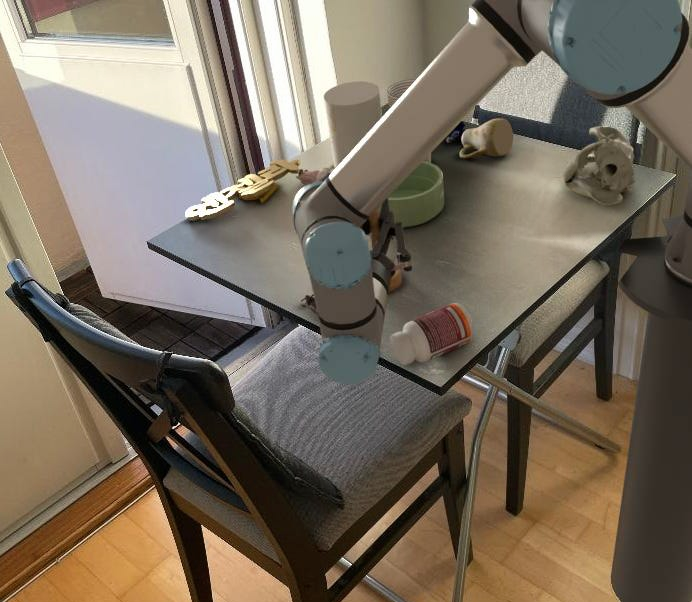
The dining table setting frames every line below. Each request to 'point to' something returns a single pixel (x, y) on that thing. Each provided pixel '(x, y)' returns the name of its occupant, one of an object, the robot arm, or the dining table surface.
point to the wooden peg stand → (374, 234)
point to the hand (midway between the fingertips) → (378, 205)
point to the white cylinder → (351, 115)
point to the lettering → (242, 190)
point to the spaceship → (456, 133)
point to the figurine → (314, 175)
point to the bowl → (418, 196)
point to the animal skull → (603, 167)
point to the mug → (488, 139)
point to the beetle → (310, 303)
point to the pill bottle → (433, 334)
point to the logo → (264, 194)
